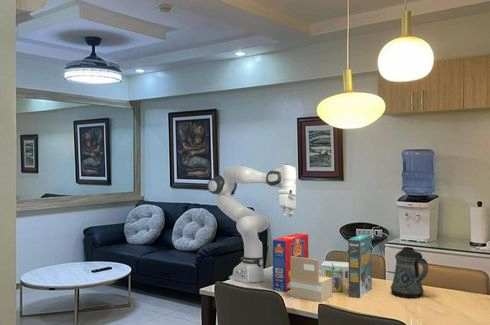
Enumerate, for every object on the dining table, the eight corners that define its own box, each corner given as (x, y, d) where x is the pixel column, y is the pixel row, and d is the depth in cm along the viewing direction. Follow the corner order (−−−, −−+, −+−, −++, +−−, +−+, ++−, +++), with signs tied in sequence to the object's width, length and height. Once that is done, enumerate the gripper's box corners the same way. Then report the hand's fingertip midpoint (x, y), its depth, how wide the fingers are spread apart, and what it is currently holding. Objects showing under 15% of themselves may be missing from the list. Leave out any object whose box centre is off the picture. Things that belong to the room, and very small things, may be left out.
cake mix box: (360, 287, 270) (360, 234, 270) (371, 288, 267) (371, 234, 267) (348, 296, 251) (348, 239, 251) (360, 298, 248) (359, 240, 248)
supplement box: (320, 280, 288) (320, 264, 288) (323, 275, 300) (323, 260, 300) (349, 282, 283) (349, 266, 283) (351, 277, 295) (351, 261, 295)
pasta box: (285, 292, 260) (285, 241, 261) (273, 290, 265) (272, 239, 265) (308, 281, 284) (308, 234, 284) (296, 279, 288) (296, 233, 288)
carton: (290, 296, 252) (290, 276, 252) (302, 291, 262) (301, 272, 262) (321, 302, 242) (320, 281, 242) (332, 296, 251) (331, 277, 251)
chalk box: (342, 292, 259) (342, 265, 259) (325, 291, 261) (325, 264, 261) (342, 288, 268) (342, 261, 268) (326, 287, 270) (326, 261, 270)
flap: (290, 277, 251) (290, 256, 251) (291, 277, 252) (291, 256, 252) (317, 282, 241) (317, 260, 241) (319, 281, 242) (318, 259, 242)
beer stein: (393, 289, 266) (393, 244, 266) (430, 293, 257) (430, 246, 257) (388, 296, 251) (388, 248, 251) (427, 301, 242) (427, 251, 242)
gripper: (288, 194, 285) (288, 217, 283) (277, 190, 267) (276, 215, 264) (299, 193, 283) (298, 217, 280) (288, 190, 264) (287, 215, 262)
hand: (288, 216), depth 272 cm, fingers open, 8 cm apart
